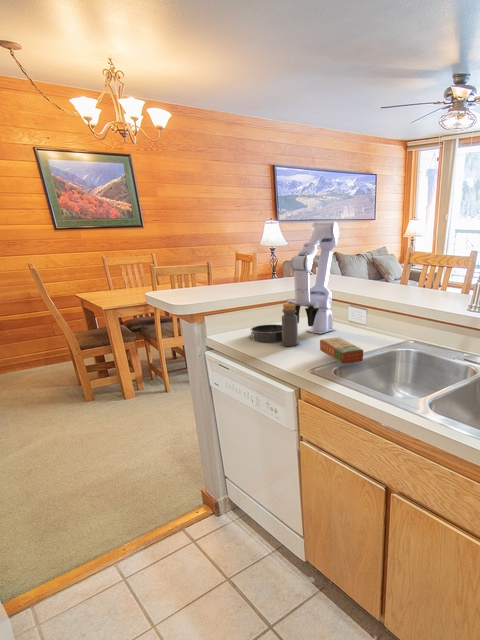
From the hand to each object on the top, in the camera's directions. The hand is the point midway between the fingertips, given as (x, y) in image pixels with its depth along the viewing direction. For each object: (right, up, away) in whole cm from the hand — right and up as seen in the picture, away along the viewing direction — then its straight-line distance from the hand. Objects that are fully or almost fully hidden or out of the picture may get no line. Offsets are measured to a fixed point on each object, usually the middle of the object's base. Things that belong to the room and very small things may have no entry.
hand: (303, 324), depth 161 cm
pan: (-14, -5, +5) cm, 16 cm away
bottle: (-5, -8, -3) cm, 10 cm away
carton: (+15, -15, -20) cm, 28 cm away
